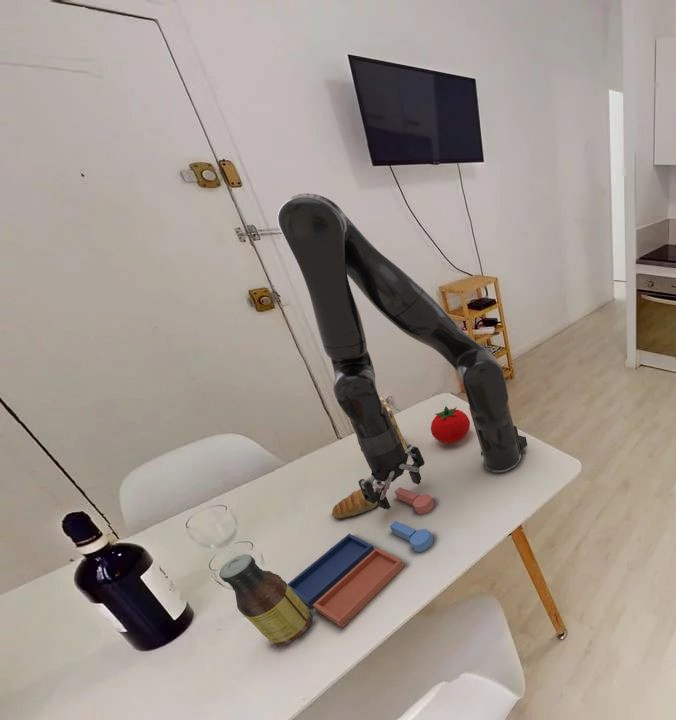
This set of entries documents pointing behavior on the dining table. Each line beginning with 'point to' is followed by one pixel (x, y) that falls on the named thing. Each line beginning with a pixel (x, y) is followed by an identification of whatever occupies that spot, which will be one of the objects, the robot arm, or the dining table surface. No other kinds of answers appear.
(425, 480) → the dining table surface
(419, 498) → the rose spoon
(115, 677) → the dining table surface
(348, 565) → the blue tray
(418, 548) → the blue spoon
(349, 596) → the rose tray
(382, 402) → the candy box
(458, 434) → the tomato
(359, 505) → the pastry
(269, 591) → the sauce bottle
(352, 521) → the dining table surface
